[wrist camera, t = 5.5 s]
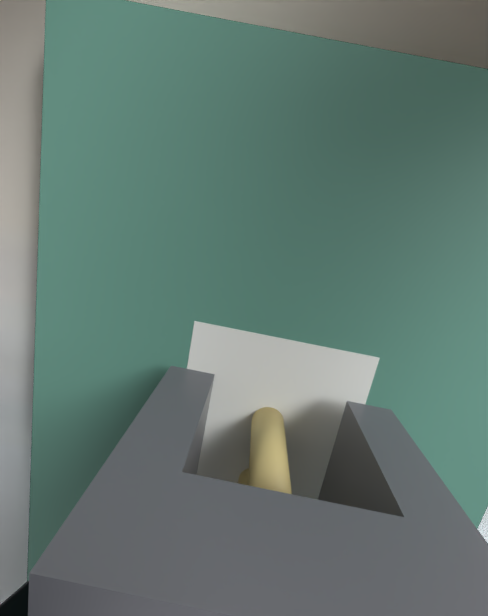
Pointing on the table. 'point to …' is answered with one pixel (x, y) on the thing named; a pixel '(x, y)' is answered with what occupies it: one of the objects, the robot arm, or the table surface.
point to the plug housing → (261, 529)
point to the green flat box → (255, 248)
